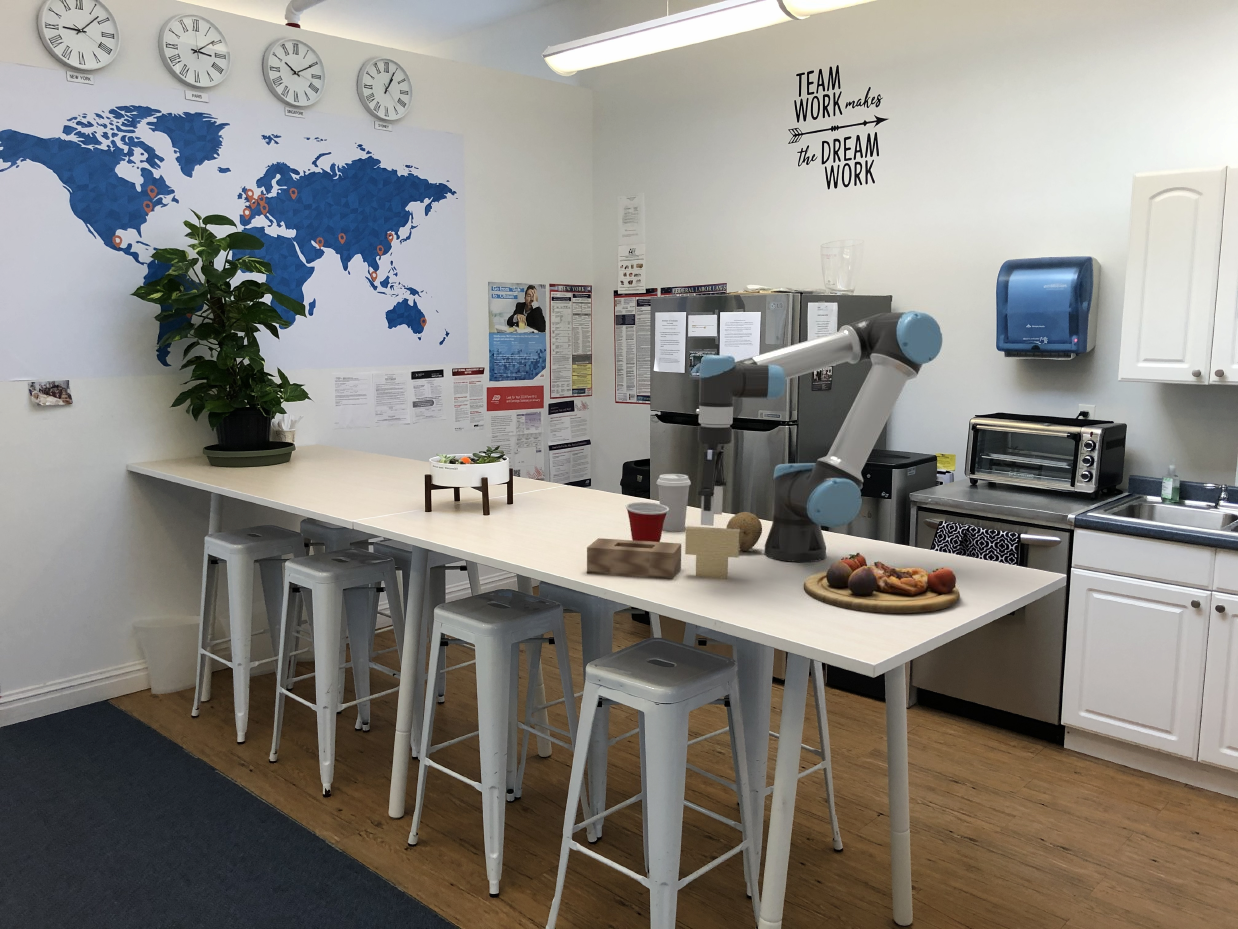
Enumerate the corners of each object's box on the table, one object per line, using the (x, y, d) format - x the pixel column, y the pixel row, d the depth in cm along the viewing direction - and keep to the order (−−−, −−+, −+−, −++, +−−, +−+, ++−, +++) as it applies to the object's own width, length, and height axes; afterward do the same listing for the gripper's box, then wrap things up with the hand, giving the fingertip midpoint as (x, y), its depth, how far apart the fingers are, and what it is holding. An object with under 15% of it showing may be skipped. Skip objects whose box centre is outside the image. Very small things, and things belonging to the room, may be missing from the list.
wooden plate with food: (983, 594, 206) (985, 556, 205) (918, 625, 183) (919, 583, 182) (849, 571, 227) (850, 536, 226) (775, 596, 204) (776, 558, 203)
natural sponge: (746, 556, 236) (747, 517, 235) (718, 550, 242) (719, 512, 241) (768, 551, 242) (769, 512, 241) (739, 545, 249) (740, 507, 247)
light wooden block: (738, 576, 217) (740, 529, 215) (737, 579, 215) (739, 531, 213) (686, 573, 220) (687, 526, 218) (684, 575, 217) (685, 528, 216)
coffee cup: (687, 533, 262) (688, 479, 260) (653, 531, 264) (653, 478, 262) (692, 526, 271) (693, 474, 269) (658, 524, 273) (659, 472, 271)
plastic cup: (644, 560, 231) (645, 511, 230) (616, 552, 240) (616, 505, 238) (677, 554, 238) (678, 506, 237) (648, 546, 247) (649, 500, 245)
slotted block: (680, 568, 224) (681, 543, 223) (673, 579, 214) (673, 553, 213) (598, 562, 229) (598, 538, 228) (586, 573, 219) (586, 547, 218)
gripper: (706, 419, 225) (703, 508, 228) (688, 429, 201) (685, 528, 204) (738, 421, 223) (735, 510, 226) (724, 431, 199) (720, 531, 202)
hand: (711, 519), depth 215 cm, fingers open, 13 cm apart
